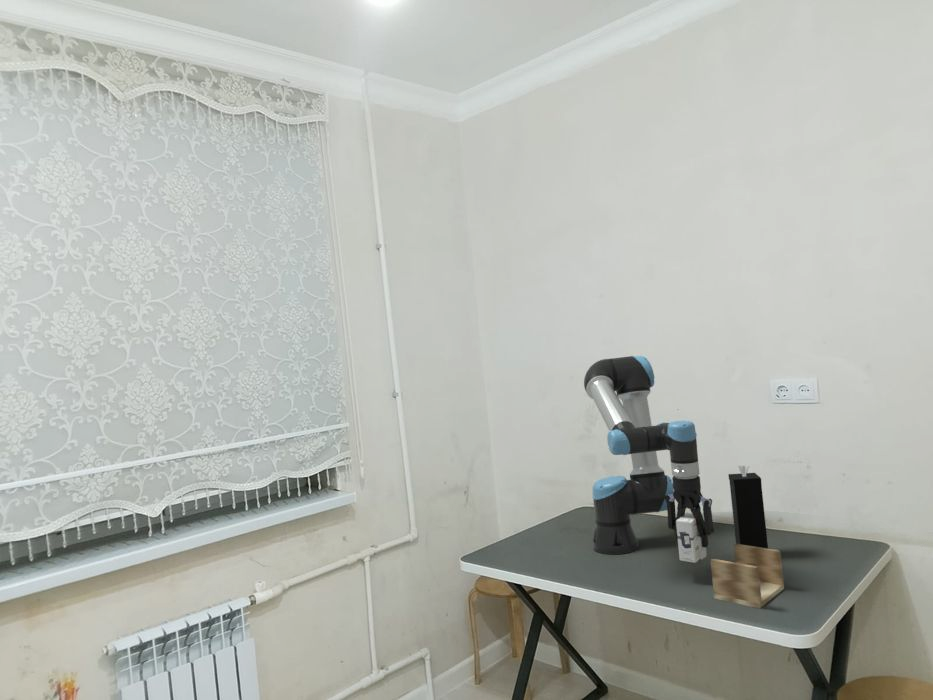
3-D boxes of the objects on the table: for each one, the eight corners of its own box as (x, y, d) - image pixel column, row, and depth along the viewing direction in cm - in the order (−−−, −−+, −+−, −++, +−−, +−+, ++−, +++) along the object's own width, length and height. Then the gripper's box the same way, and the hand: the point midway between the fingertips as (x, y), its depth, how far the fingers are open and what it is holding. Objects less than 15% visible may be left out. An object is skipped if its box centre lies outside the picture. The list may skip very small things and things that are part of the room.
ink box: (690, 550, 190) (686, 511, 189) (707, 553, 186) (703, 513, 186) (678, 560, 183) (675, 519, 183) (696, 563, 180) (692, 521, 180)
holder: (714, 598, 170) (710, 560, 170) (739, 579, 181) (736, 543, 181) (760, 608, 161) (756, 568, 161) (784, 588, 172) (780, 550, 172)
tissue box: (769, 559, 194) (759, 467, 194) (741, 560, 195) (732, 468, 195) (763, 551, 201) (753, 462, 201) (736, 552, 203) (727, 463, 203)
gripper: (650, 475, 188) (657, 553, 189) (710, 482, 175) (717, 566, 176) (663, 470, 193) (670, 546, 194) (722, 475, 180) (730, 557, 181)
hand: (693, 555), depth 185 cm, fingers closed on ink box, 5 cm apart
